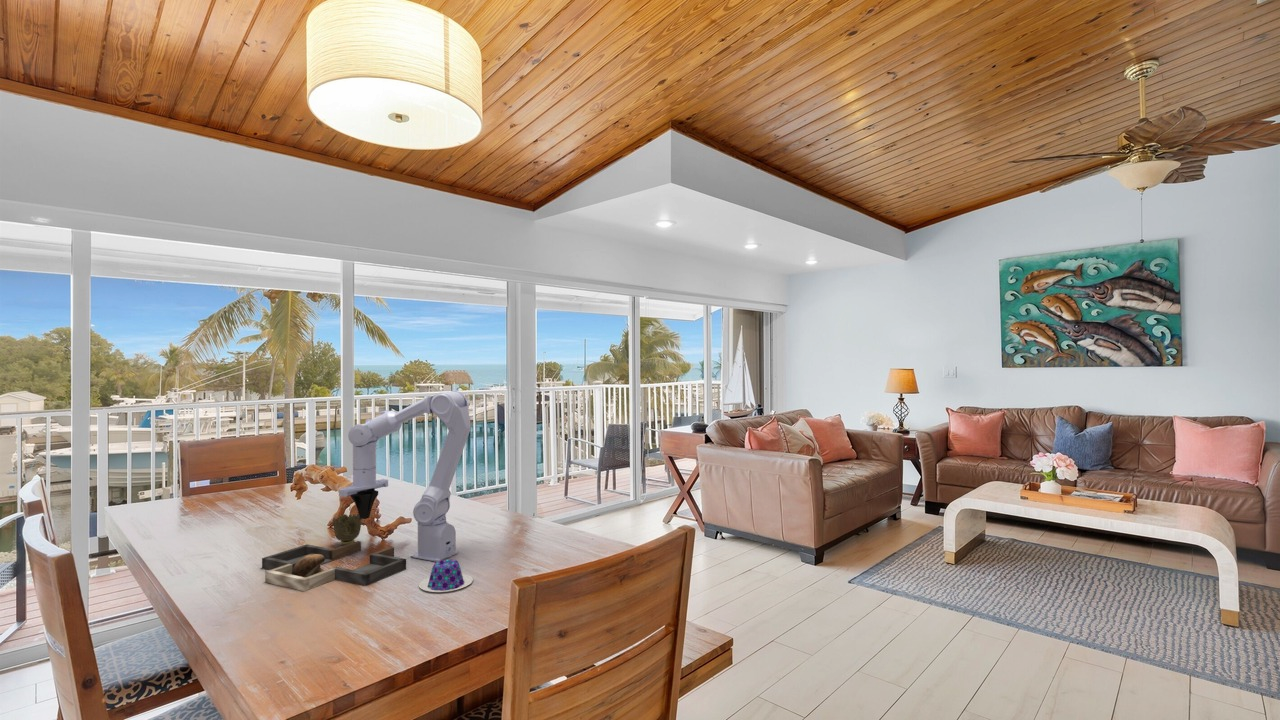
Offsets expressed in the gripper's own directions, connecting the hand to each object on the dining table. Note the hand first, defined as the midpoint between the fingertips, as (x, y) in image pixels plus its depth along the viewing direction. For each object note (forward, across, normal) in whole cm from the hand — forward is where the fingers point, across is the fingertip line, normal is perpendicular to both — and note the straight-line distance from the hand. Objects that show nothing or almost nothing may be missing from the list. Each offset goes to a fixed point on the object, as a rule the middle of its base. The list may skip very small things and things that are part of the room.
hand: (364, 518), depth 165 cm
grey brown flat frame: (+9, +12, +3) cm, 16 cm away
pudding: (+10, +9, +36) cm, 38 cm away
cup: (+10, -3, -10) cm, 14 cm away
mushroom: (+10, +19, +3) cm, 22 cm away
